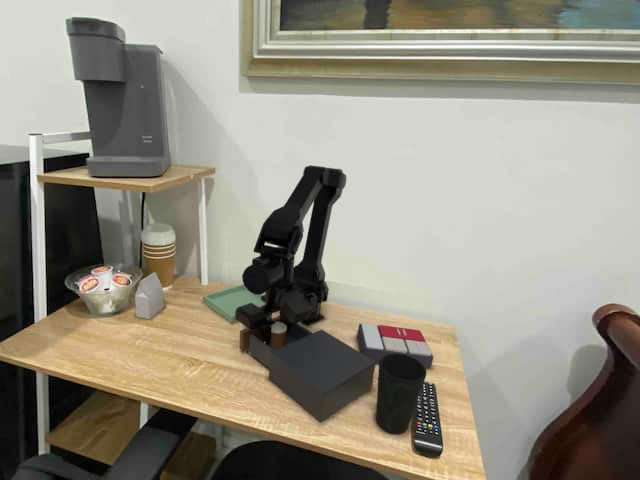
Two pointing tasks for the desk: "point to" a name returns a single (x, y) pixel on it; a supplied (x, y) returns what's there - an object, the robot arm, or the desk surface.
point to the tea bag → (149, 297)
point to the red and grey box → (393, 343)
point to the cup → (398, 391)
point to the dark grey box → (321, 373)
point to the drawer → (256, 341)
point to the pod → (278, 336)
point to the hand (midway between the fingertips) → (275, 340)
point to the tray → (231, 301)
